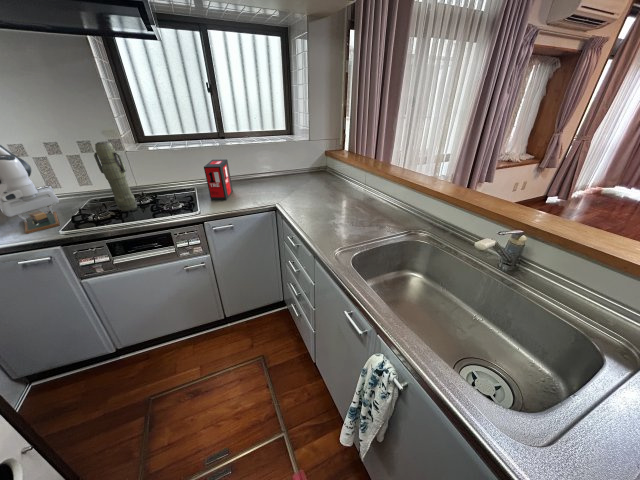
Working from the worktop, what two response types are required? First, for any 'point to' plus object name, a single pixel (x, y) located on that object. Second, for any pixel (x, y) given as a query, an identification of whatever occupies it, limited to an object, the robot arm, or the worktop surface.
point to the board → (35, 226)
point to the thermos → (115, 175)
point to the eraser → (38, 217)
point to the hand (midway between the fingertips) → (39, 217)
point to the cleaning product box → (218, 179)
